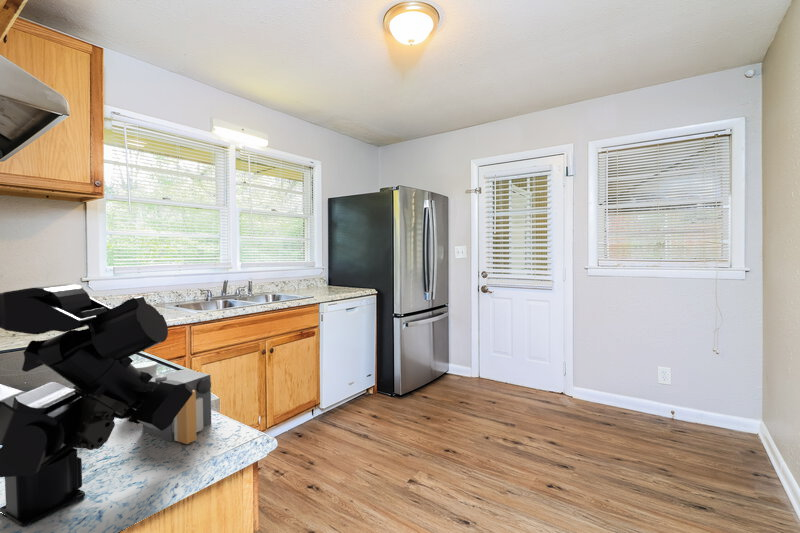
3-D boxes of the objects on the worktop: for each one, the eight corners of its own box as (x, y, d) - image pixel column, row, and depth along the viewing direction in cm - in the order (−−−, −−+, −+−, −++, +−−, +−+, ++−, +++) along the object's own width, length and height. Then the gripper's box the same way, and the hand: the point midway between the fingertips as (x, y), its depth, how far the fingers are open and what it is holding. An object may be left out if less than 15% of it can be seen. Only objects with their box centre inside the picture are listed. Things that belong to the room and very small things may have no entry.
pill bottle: (168, 408, 81) (167, 361, 81) (143, 419, 76) (142, 369, 75) (147, 405, 83) (146, 359, 82) (121, 416, 77) (120, 367, 77)
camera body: (174, 442, 66) (172, 384, 66) (142, 432, 70) (141, 378, 70) (213, 423, 74) (212, 371, 73) (183, 415, 77) (182, 366, 77)
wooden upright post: (186, 444, 65) (185, 394, 65) (174, 440, 66) (173, 391, 66) (212, 431, 69) (211, 384, 69) (200, 428, 71) (199, 382, 71)
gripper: (1, 411, 50) (93, 461, 60) (82, 440, 42) (173, 492, 52) (76, 342, 57) (147, 396, 67) (157, 356, 50) (223, 415, 59)
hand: (169, 423), depth 61 cm, fingers closed
